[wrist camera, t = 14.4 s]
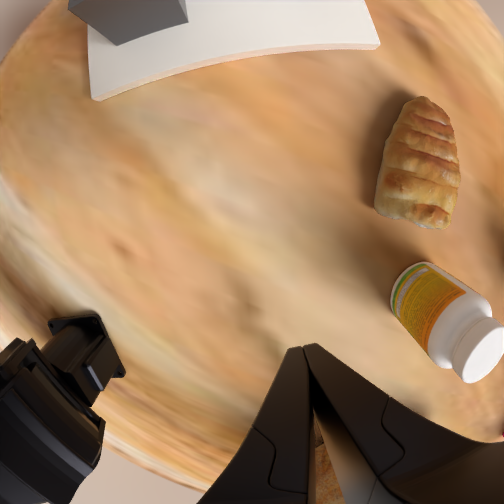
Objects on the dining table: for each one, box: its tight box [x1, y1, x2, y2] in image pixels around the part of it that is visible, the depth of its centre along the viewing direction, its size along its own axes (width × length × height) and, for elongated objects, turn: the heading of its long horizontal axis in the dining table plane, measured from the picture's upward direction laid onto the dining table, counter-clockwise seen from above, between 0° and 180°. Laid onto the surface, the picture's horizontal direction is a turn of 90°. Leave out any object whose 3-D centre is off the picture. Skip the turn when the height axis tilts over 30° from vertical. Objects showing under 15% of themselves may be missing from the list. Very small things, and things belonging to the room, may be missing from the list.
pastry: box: [374, 96, 461, 229], centre depth 16 cm, size 9×7×4 cm
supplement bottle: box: [390, 262, 504, 383], centre depth 16 cm, size 5×5×10 cm
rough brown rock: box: [315, 443, 346, 504], centre depth 20 cm, size 23×17×15 cm
